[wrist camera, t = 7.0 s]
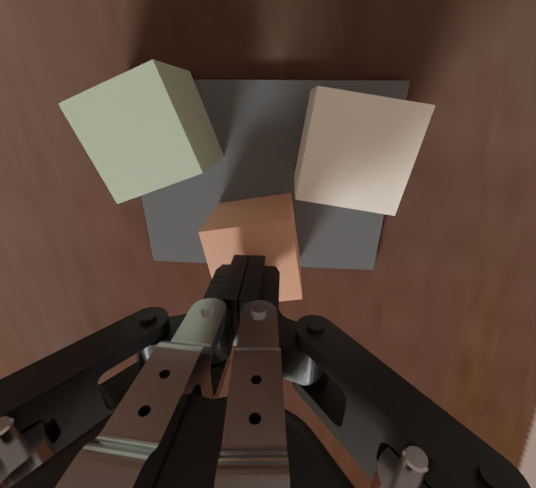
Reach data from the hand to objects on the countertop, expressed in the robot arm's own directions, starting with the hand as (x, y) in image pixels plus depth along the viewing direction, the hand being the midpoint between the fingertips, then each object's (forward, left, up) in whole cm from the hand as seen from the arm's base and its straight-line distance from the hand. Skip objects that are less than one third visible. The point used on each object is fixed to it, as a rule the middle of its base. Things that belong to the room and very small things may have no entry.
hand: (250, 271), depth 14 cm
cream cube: (-5, +5, -5) cm, 9 cm away
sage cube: (-6, -5, -5) cm, 9 cm away
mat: (-3, 0, -6) cm, 7 cm away
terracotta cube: (0, 0, -5) cm, 5 cm away
